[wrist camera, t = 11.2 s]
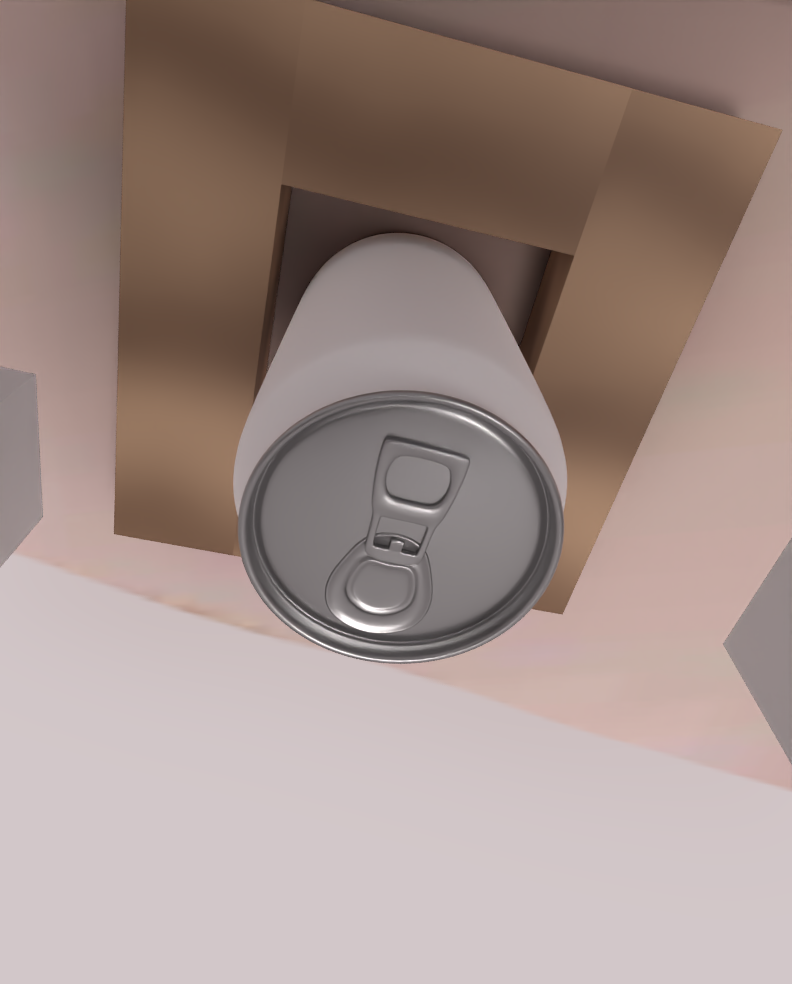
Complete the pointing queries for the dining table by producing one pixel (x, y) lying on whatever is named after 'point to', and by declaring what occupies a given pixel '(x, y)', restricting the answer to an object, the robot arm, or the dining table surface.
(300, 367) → the can
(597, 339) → the frame
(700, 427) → the dining table surface
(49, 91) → the dining table surface
